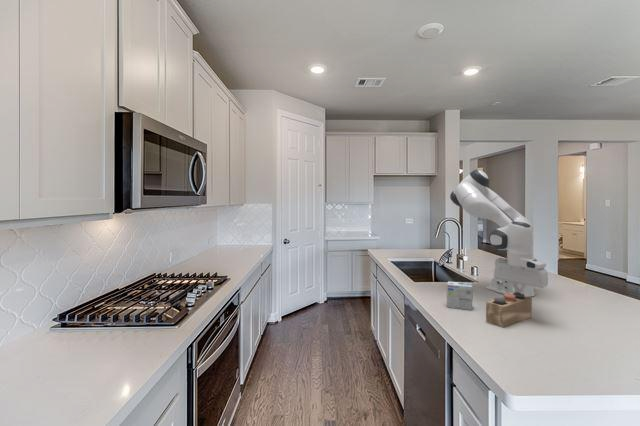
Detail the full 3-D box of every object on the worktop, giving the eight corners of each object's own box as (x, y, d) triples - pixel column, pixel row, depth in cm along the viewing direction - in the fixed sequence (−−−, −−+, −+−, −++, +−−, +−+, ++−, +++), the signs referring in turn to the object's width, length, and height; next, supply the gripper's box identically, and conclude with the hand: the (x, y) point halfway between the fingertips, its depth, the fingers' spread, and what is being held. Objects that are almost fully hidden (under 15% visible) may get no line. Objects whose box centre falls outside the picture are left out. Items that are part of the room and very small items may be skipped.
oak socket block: (485, 321, 130) (486, 302, 129) (514, 312, 141) (514, 293, 140) (503, 327, 124) (503, 307, 123) (531, 316, 135) (531, 298, 134)
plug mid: (501, 313, 133) (502, 294, 132) (506, 311, 135) (507, 293, 134) (511, 316, 129) (512, 297, 129) (516, 314, 131) (517, 295, 131)
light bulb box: (472, 306, 149) (472, 283, 148) (472, 310, 143) (472, 286, 142) (447, 303, 153) (447, 280, 153) (446, 307, 147) (446, 284, 147)
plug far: (510, 311, 136) (511, 293, 136) (515, 310, 138) (516, 291, 138) (520, 314, 133) (521, 295, 133) (525, 313, 135) (526, 294, 135)
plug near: (491, 318, 129) (492, 298, 129) (497, 316, 131) (497, 297, 131) (501, 321, 126) (502, 301, 125) (507, 319, 128) (507, 299, 127)
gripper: (491, 257, 142) (490, 288, 143) (542, 265, 125) (541, 300, 125) (499, 256, 145) (498, 286, 146) (550, 264, 128) (549, 298, 128)
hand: (518, 293), depth 135 cm, fingers closed
